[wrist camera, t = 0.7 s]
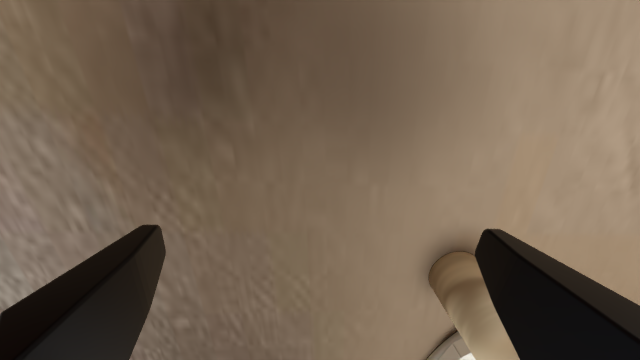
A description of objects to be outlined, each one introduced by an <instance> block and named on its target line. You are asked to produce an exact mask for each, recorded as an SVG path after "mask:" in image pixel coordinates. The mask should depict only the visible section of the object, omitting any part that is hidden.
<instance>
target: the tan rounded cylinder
mask: <svg viewBox="0 0 640 360" xmlns="http://www.w3.org/2000/svg"><path fill="white" fill-rule="evenodd" d="M429 283H430V285H431V287H432V289H433V290H434V292H435V294H436V295H437V297H438V299H439V300H440V302H441V304H442V305H443V307H444V309H445V310H446V312H447V314H448V315H449V317H450V319H451V320H452V322H453V323H454V325H455V327H456V328H457V330H458V332H459V333H460V335H461V337H462V338H463V340H464V342H465V343H466V345H467V347H468V348H469V350H470V352H471V353H472V355H473V357H474V358H475V359H476V360H520V359H519V357H518V355H517V353H516V351H515V349H514V347H513V345H512V343H511V341H510V339H509V337H508V335H507V332H506V330H505V328H504V326H503V324H502V322H501V320H500V318H499V316H498V314H497V312H496V310H495V308H494V306H493V303H492V301H491V298H490V296H489V293H488V290H487V288H486V285H485V282H484V280H483V277H482V274H481V272H480V269H479V266H478V263H477V261H476V257H475V256H473V255H472V254H470V253H467V252H452V253H449V254H447V255H445V256H443V257H441V258H440V259H439V260H438V261H436V263H435V264H434V265H433V266H432V268H431V270H430V273H429Z"/></svg>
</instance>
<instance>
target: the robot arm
mask: <svg viewBox="0 0 640 360" xmlns="http://www.w3.org/2000/svg"><path fill="white" fill-rule="evenodd" d="M165 253H166V250H165V244H164V240H163V235H162V230H161V228H160V226H158V225H142V226H140V227H138V228H136V229H135V230H133V231H132V232H130V233H128V234H127V235H125V236H124V237H122V238H120V239H119V240H117V241H116V242H114V243H112V244H111V245H109V246H108V247H106V248H104V249H103V250H101V251H99V252H98V253H96V254H95V255H93V256H91V257H90V258H88V259H87V260H85V261H83V262H82V263H80V264H79V265H77V266H75V267H74V268H72V269H71V270H69V271H67V272H66V273H64V274H63V275H61V276H59V277H58V278H56V279H54V280H53V281H51V282H50V283H48V284H46V285H45V286H43V287H42V288H40V289H38V290H37V291H35V292H34V293H32V294H30V295H29V296H27V297H26V298H24V299H22V300H21V301H19V302H17V303H16V304H14V305H13V306H11V307H9V308H8V309H6V310H5V311H3V312H2V313H1V314H0V360H129V359H130V356H131V354H132V351H133V349H134V347H135V344H136V342H137V339H138V337H139V335H140V332H141V330H142V327H143V325H144V323H145V320H146V318H147V315H148V313H149V310H150V307H151V304H152V301H153V297H154V294H155V290H156V287H157V283H158V280H159V276H160V273H161V269H162V266H163V262H164V259H165ZM475 257H476V261H477V263H478V266H479V269H480V272H481V274H482V277H483V280H484V282H485V285H486V288H487V290H488V293H489V296H490V298H491V301H492V303H493V306H494V308H495V310H496V312H497V314H498V316H499V318H500V320H501V322H502V324H503V326H504V328H505V330H506V332H507V335H508V337H509V339H510V341H511V343H512V345H513V347H514V349H515V351H516V353H517V355H518V357H519V359H520V360H640V306H639V305H638V304H636V303H634V302H632V301H630V300H628V299H627V298H625V297H623V296H621V295H619V294H617V293H616V292H614V291H612V290H610V289H608V288H607V287H605V286H603V285H601V284H599V283H597V282H596V281H594V280H592V279H590V278H588V277H586V276H585V275H583V274H581V273H579V272H577V271H576V270H574V269H572V268H570V267H568V266H566V265H565V264H563V263H561V262H559V261H557V260H555V259H554V258H552V257H550V256H548V255H546V254H545V253H543V252H541V251H539V250H537V249H535V248H534V247H532V246H530V245H528V244H526V243H524V242H523V241H521V240H519V239H517V238H515V237H514V236H512V235H510V234H508V233H506V232H504V231H503V230H500V229H486V230H484V231H483V233H482V235H481V238H480V240H479V243H478V245H477V248H476V251H475Z"/></svg>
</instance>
